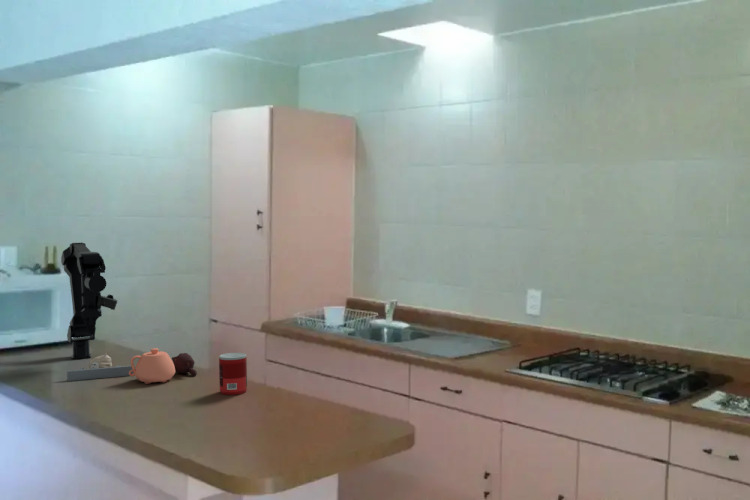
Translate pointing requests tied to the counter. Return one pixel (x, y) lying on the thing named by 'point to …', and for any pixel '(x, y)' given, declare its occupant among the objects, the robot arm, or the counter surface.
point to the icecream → (184, 364)
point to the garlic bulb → (100, 362)
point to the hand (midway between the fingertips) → (92, 334)
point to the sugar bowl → (153, 367)
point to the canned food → (233, 373)
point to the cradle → (98, 373)
